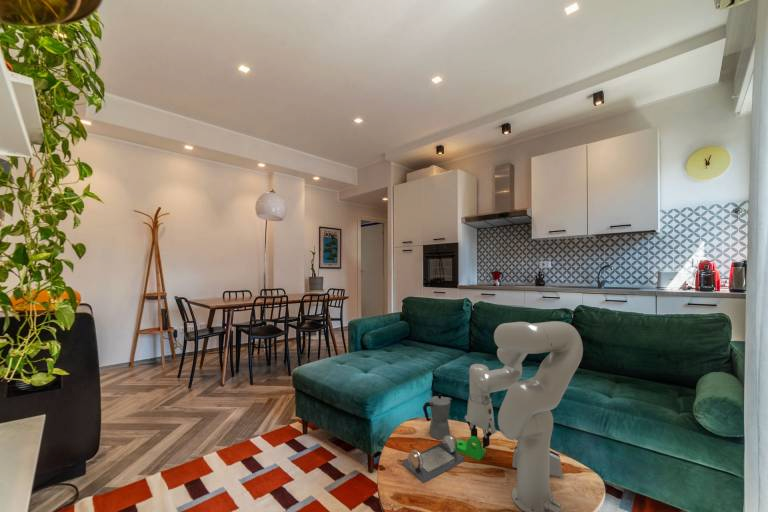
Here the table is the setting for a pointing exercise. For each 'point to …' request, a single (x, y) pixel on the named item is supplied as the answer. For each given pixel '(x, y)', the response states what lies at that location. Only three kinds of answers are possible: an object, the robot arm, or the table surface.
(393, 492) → the table surface
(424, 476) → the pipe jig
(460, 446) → the mechanical part
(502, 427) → the robot arm
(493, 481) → the table surface
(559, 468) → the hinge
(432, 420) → the coffeepot
